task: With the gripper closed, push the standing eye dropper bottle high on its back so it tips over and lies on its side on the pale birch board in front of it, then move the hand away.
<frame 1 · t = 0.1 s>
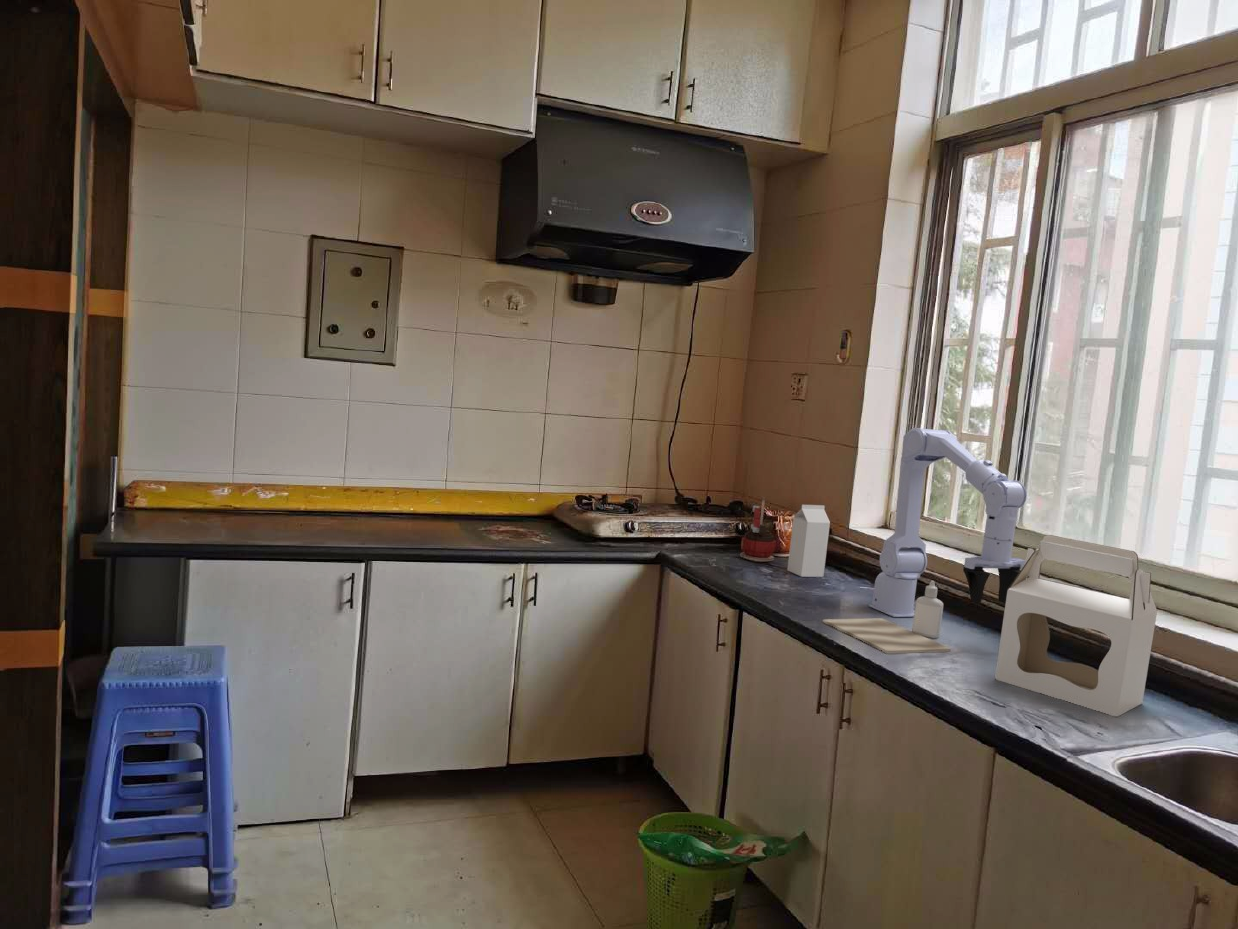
hand: (989, 602, 200), 10 cm above the countertop, tool pointing down, fingers open, 7 cm apart
eye dropper bottle: (925, 636, 208), on the countertop
milk carton: (805, 574, 260), on the countertop
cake: (756, 560, 274), on the countertop
gable box: (1066, 692, 177), on the countertop
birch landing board: (884, 636, 203), on the countertop
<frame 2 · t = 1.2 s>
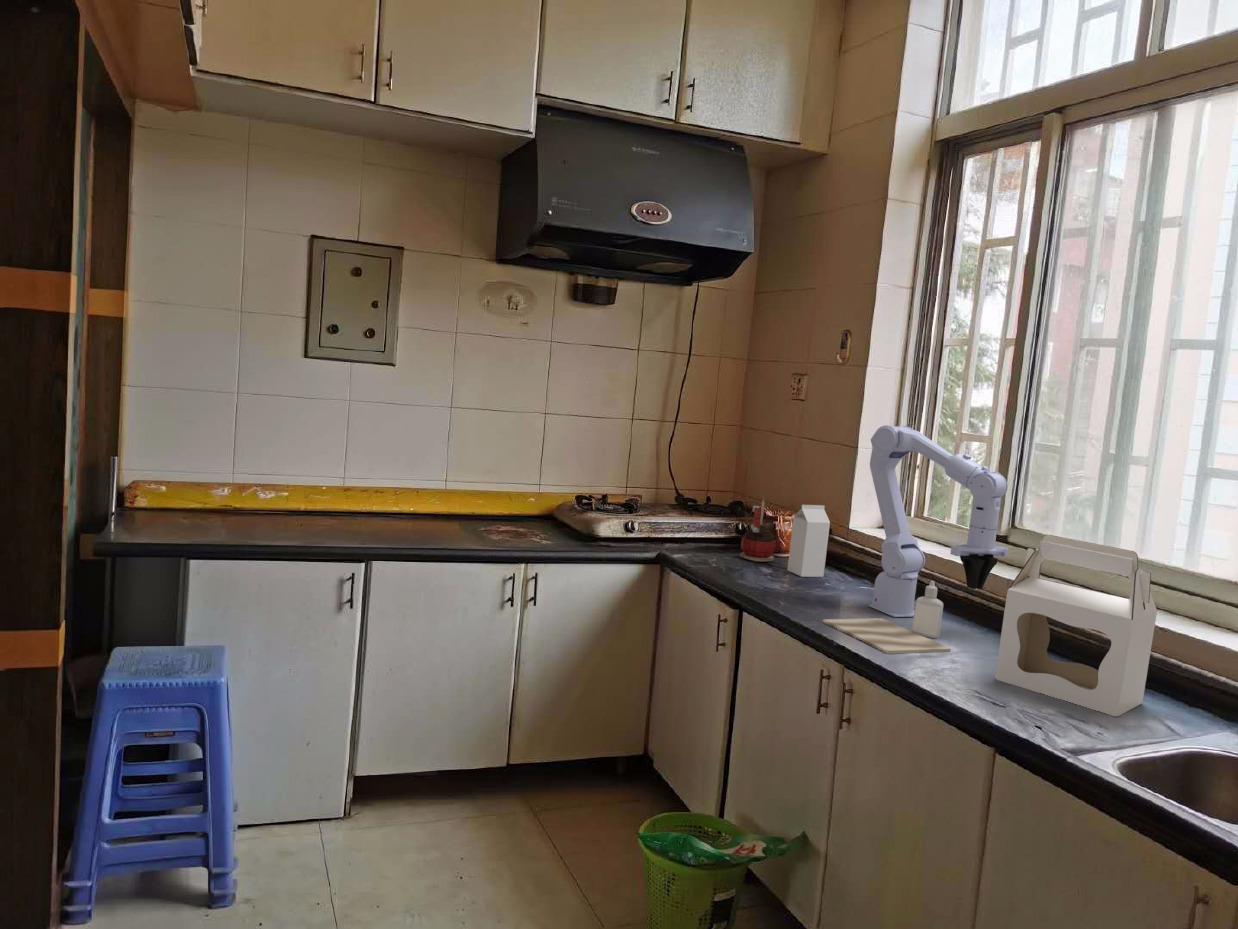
hand: (974, 587, 211), 10 cm above the countertop, tool pointing down, fingers closed
nothing on the countertop moved.
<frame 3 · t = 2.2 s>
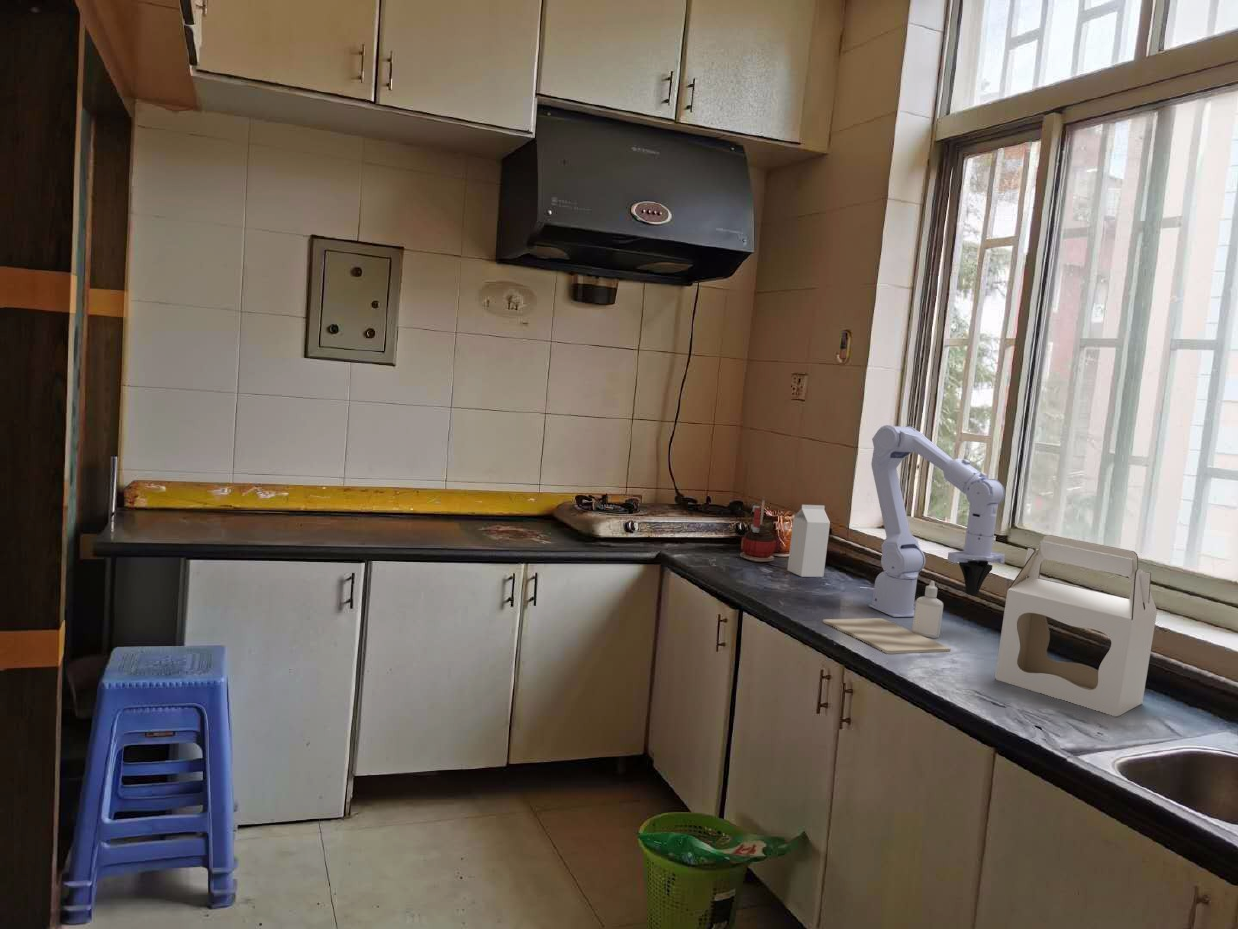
hand: (971, 594, 211), 9 cm above the countertop, tool pointing down, fingers closed
nothing on the countertop moved.
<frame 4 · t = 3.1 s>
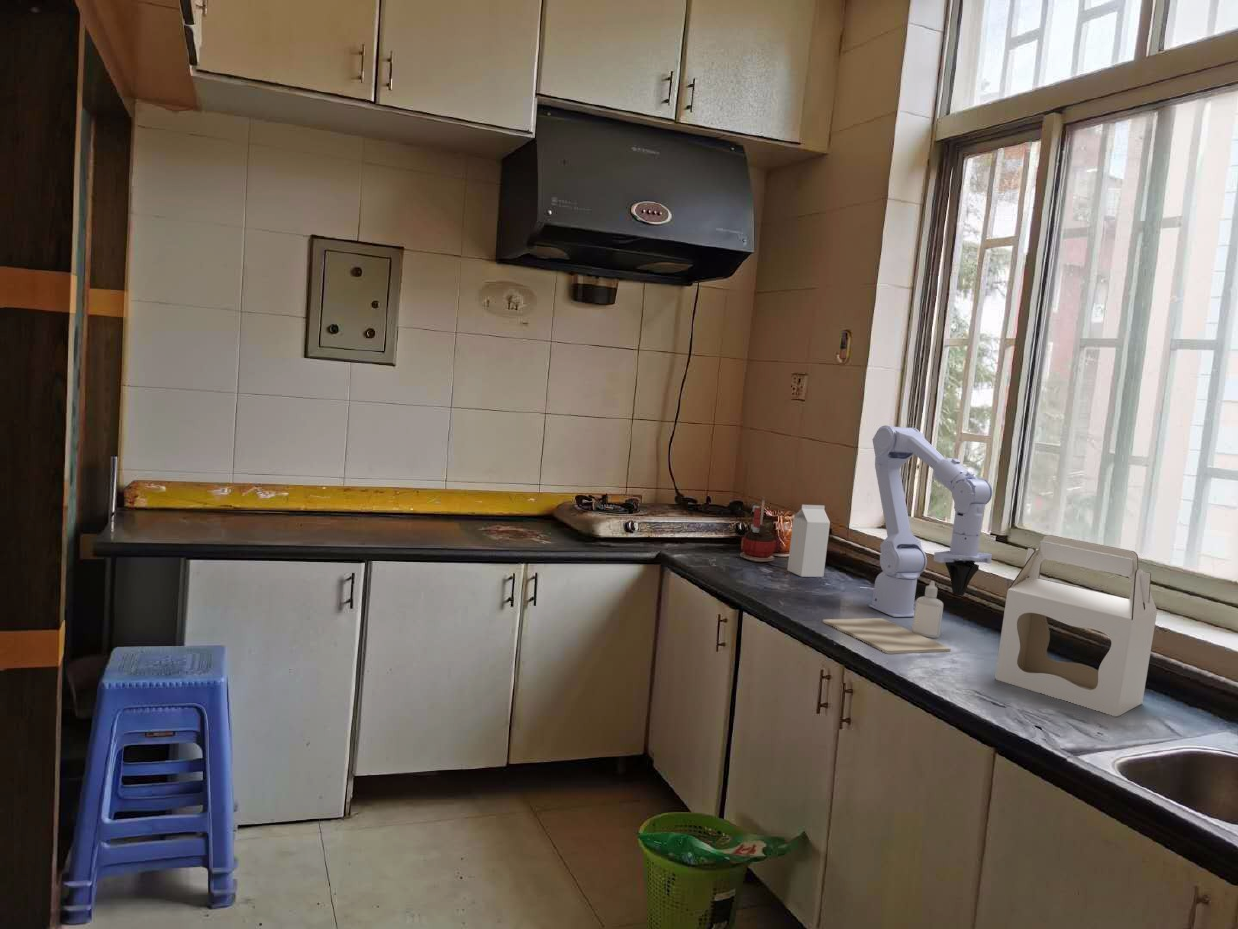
hand: (957, 594, 210), 9 cm above the countertop, tool pointing down, fingers closed
nothing on the countertop moved.
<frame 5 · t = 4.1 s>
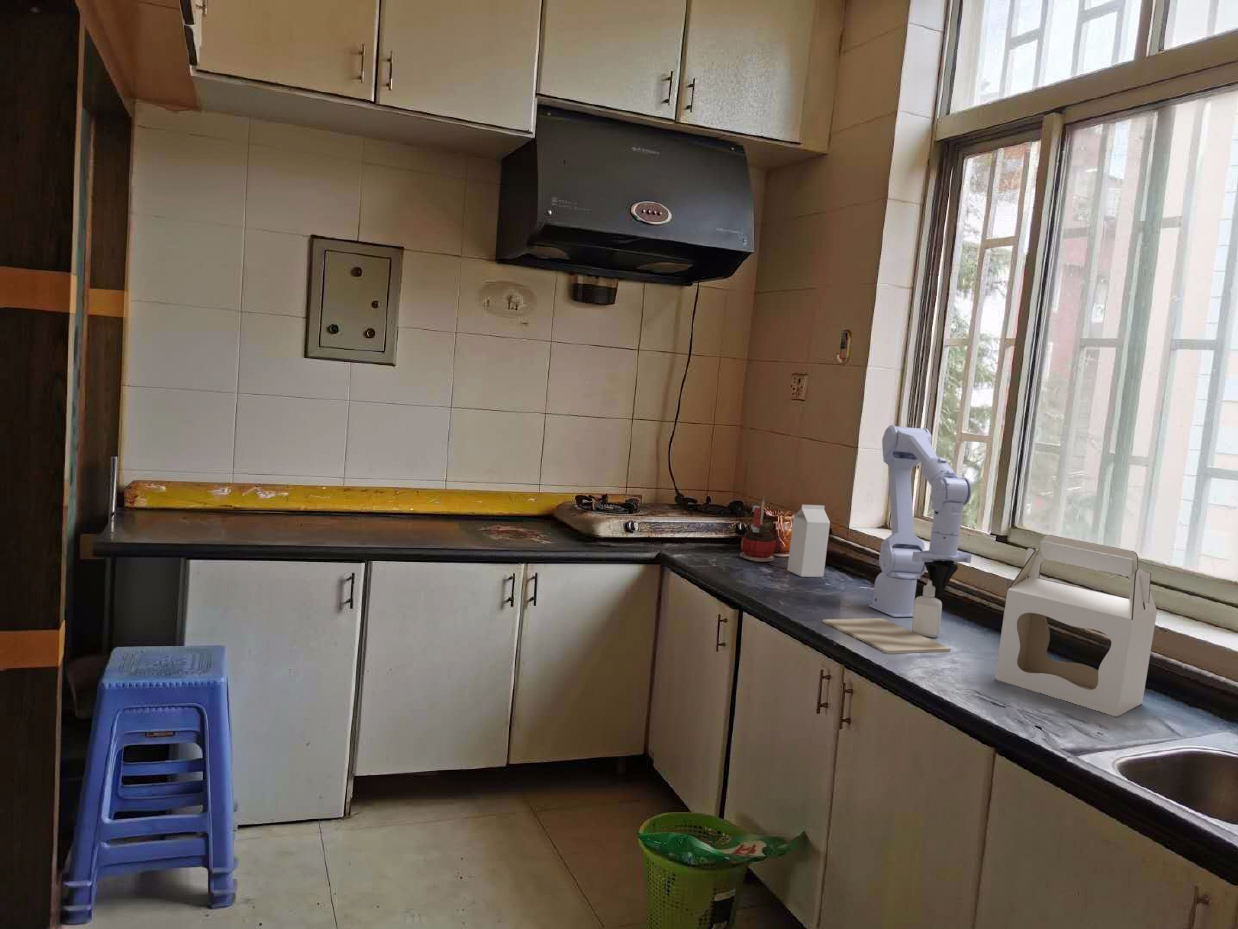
hand: (937, 594, 208), 9 cm above the countertop, tool pointing down, fingers closed
eye dropper bottle: (925, 635, 208), on the countertop, touching gripper
everything else where it was.
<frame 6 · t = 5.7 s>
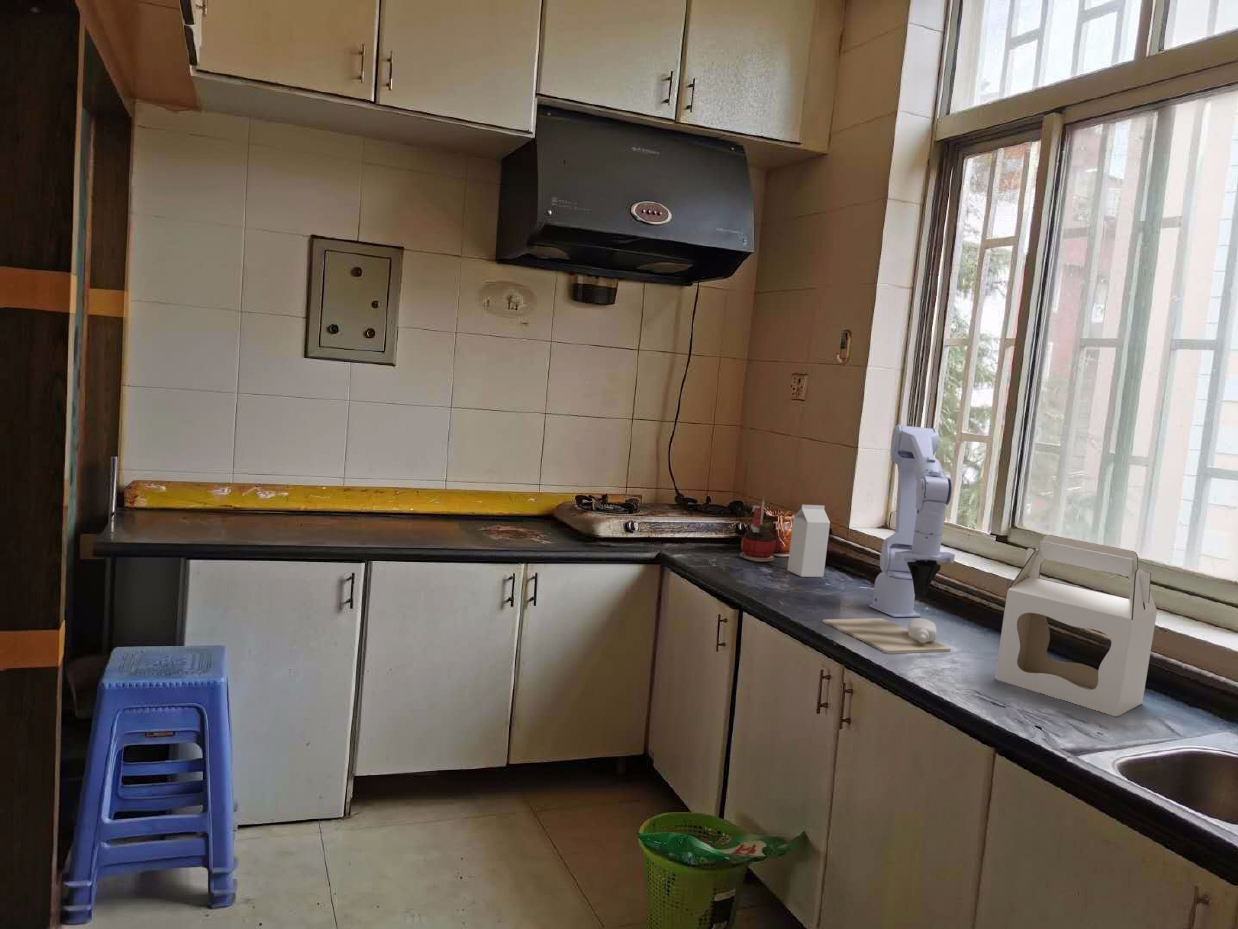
hand: (919, 595, 206), 9 cm above the countertop, tool pointing down, fingers closed
eye dropper bottle: (921, 626, 207), point 2 cm above the countertop, touching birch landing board
everything else where it was.
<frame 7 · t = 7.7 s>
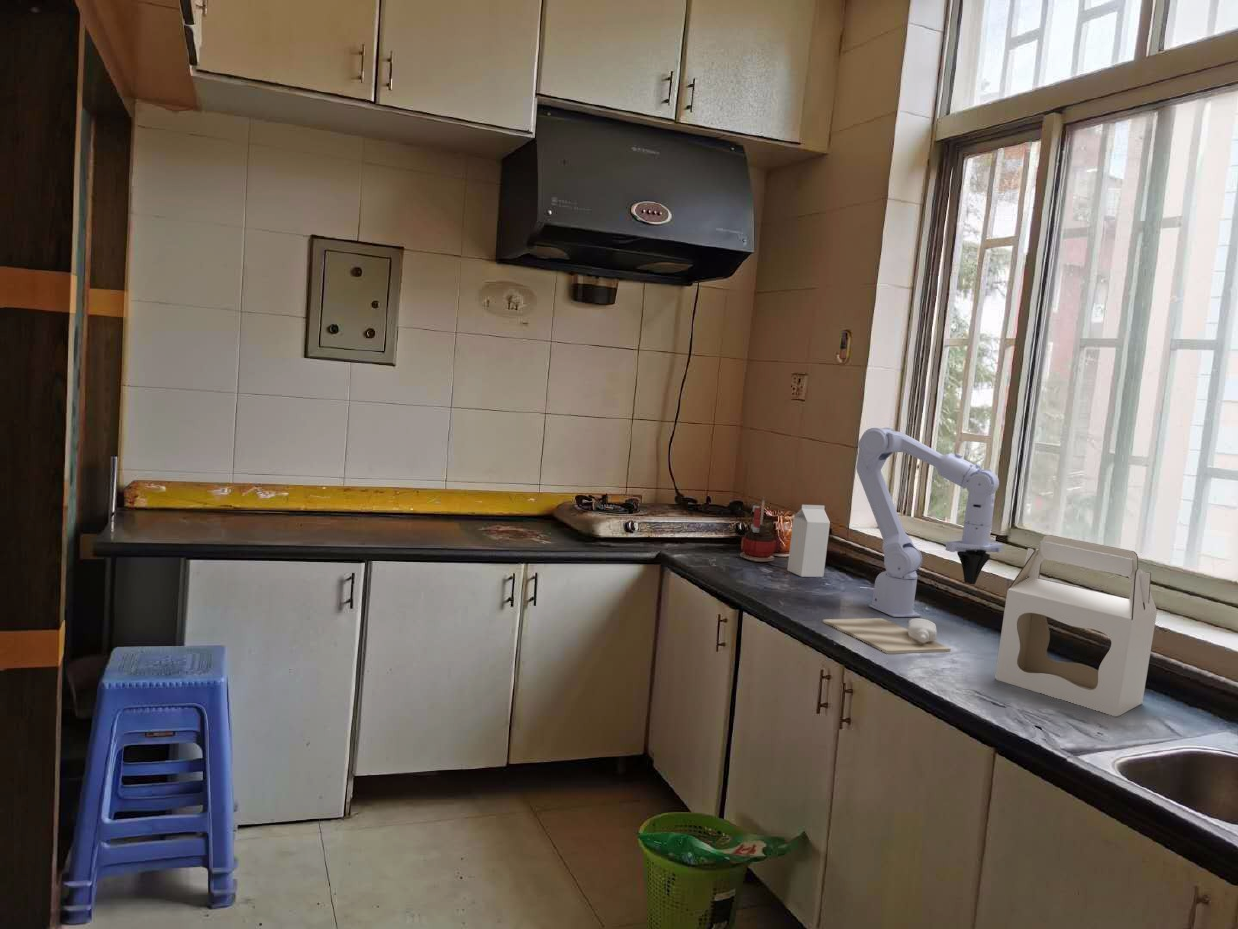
hand: (969, 583, 216), 10 cm above the countertop, tool pointing down, fingers closed
nothing on the countertop moved.
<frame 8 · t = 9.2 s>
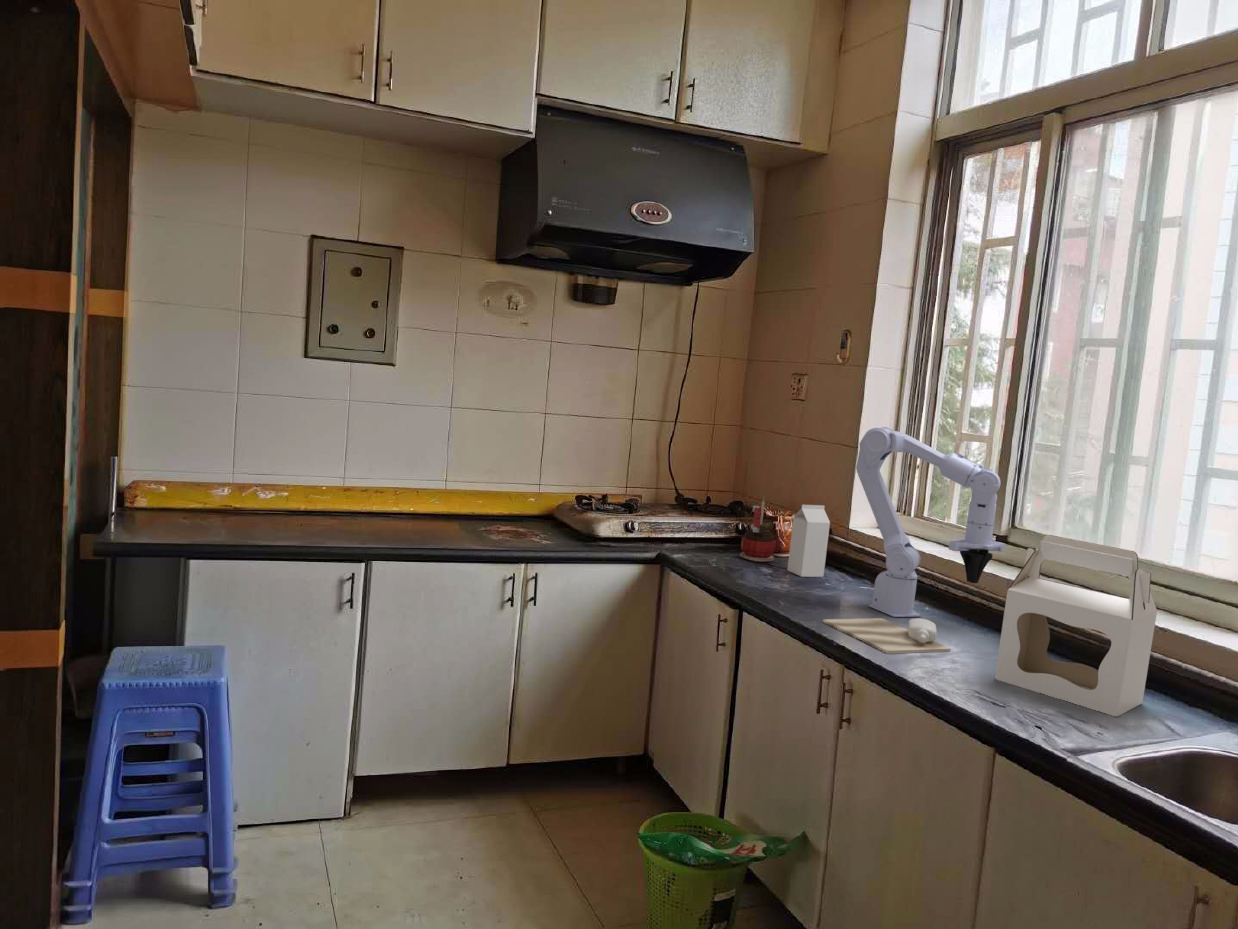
hand: (972, 582, 218), 10 cm above the countertop, tool pointing down, fingers closed
nothing on the countertop moved.
at the end: eye dropper bottle tilted 89°; eye dropper bottle touching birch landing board; eye dropper bottle inside the target area (6.4 cm from its centre), point 2.2 cm above the countertop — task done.
